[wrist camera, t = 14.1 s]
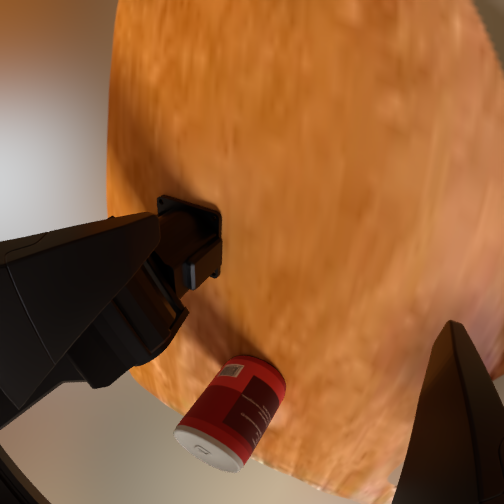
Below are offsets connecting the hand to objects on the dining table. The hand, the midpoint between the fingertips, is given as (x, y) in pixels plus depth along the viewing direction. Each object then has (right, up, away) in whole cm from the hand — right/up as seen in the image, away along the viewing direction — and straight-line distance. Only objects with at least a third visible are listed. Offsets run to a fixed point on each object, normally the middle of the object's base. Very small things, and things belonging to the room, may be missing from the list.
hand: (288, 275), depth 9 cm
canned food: (0, -13, +26) cm, 30 cm away
